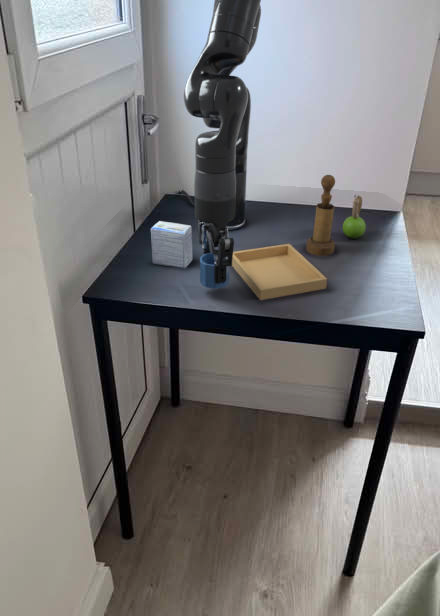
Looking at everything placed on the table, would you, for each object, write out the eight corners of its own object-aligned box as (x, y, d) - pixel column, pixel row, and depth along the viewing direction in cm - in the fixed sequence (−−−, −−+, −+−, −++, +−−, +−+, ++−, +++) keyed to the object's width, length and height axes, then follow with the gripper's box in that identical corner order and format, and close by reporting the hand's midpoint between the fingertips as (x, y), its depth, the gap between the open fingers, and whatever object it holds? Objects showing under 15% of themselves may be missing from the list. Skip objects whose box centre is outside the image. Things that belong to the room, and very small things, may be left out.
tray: (228, 263, 125) (229, 252, 123) (288, 254, 129) (289, 243, 128) (260, 302, 111) (260, 290, 109) (325, 290, 115) (327, 278, 113)
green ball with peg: (338, 241, 135) (344, 193, 129) (343, 231, 140) (350, 185, 134) (361, 245, 134) (368, 196, 127) (365, 235, 139) (373, 188, 132)
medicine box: (192, 261, 125) (192, 225, 121) (185, 270, 122) (184, 233, 117) (160, 255, 127) (158, 220, 123) (152, 264, 124) (150, 227, 119)
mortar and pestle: (333, 258, 127) (343, 181, 118) (304, 255, 128) (312, 179, 119) (334, 246, 133) (344, 171, 123) (306, 243, 134) (314, 169, 124)
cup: (195, 277, 113) (195, 254, 110) (223, 273, 114) (223, 250, 112) (205, 290, 108) (205, 267, 106) (233, 285, 110) (234, 262, 107)
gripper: (249, 203, 97) (246, 288, 106) (221, 178, 109) (220, 257, 117) (208, 208, 95) (208, 295, 104) (183, 182, 106) (185, 262, 115)
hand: (214, 274), depth 111 cm, fingers closed on cup, 5 cm apart
